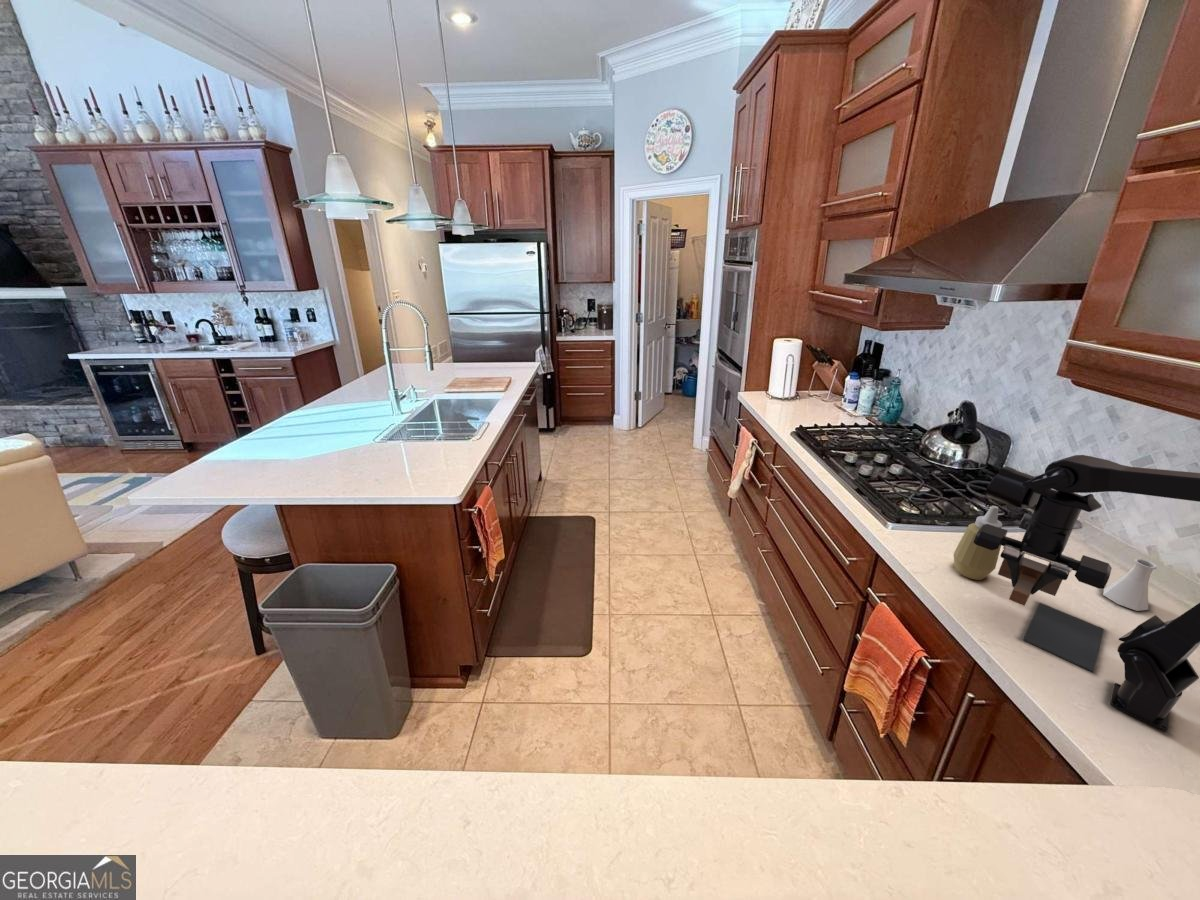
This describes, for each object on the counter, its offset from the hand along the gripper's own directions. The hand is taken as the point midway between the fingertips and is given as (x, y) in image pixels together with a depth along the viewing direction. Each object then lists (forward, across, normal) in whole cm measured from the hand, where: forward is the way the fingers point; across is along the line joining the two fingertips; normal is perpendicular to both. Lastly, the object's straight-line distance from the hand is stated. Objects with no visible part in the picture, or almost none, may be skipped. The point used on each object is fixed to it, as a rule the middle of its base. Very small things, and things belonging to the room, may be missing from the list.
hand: (1023, 589), depth 92 cm
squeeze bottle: (+10, +10, -16) cm, 21 cm away
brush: (+1, 0, -2) cm, 3 cm away
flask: (+10, -15, -30) cm, 35 cm away
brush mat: (+10, -8, -6) cm, 14 cm away
